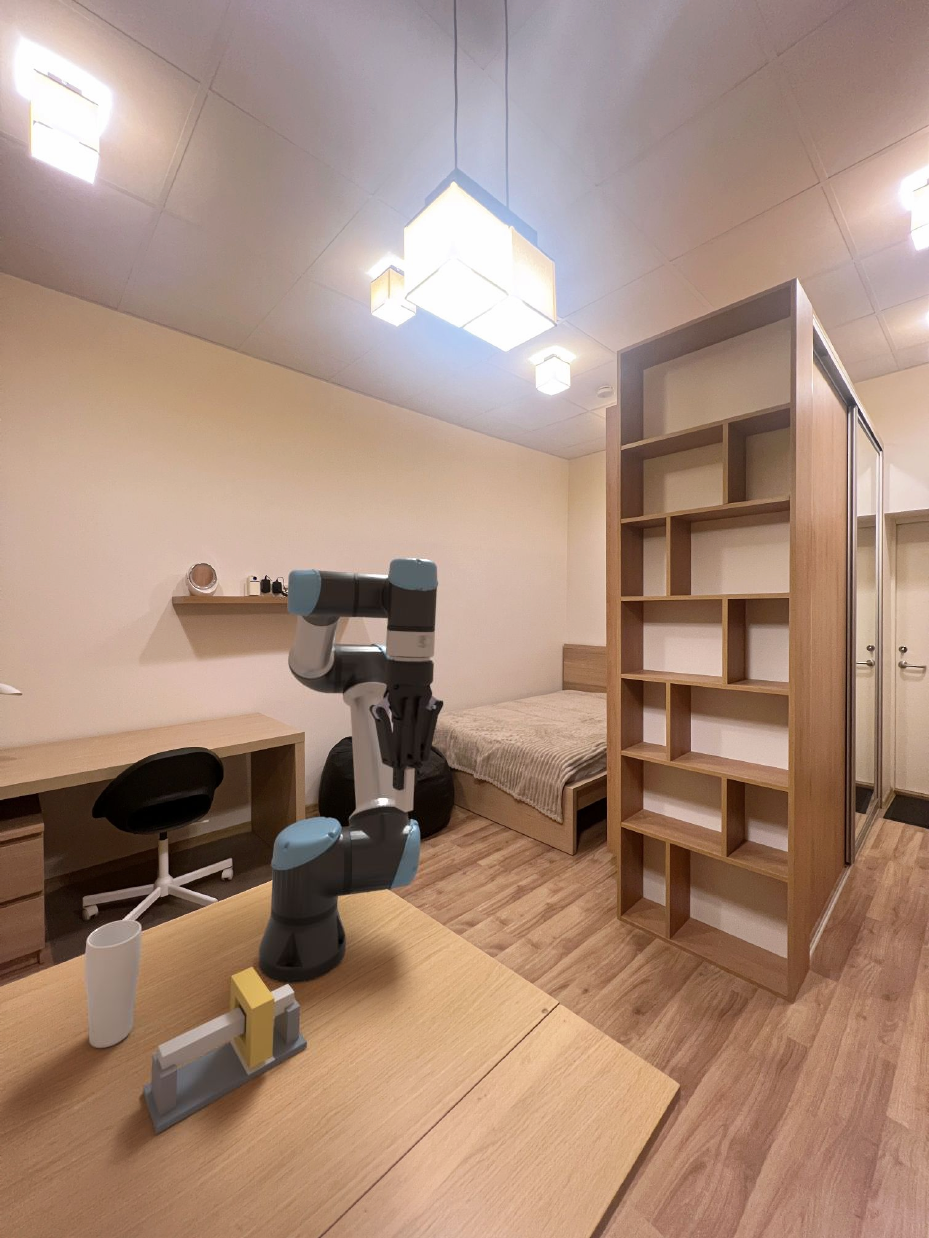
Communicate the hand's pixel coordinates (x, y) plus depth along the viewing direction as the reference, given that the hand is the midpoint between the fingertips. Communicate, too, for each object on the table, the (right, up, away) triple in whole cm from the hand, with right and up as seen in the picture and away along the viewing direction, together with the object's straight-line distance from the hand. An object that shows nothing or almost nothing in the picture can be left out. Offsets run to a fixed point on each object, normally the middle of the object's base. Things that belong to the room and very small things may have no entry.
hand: (403, 808), depth 81 cm
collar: (-20, -30, -9) cm, 37 cm away
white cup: (-42, -31, -6) cm, 52 cm away
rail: (-23, -32, -10) cm, 40 cm away
